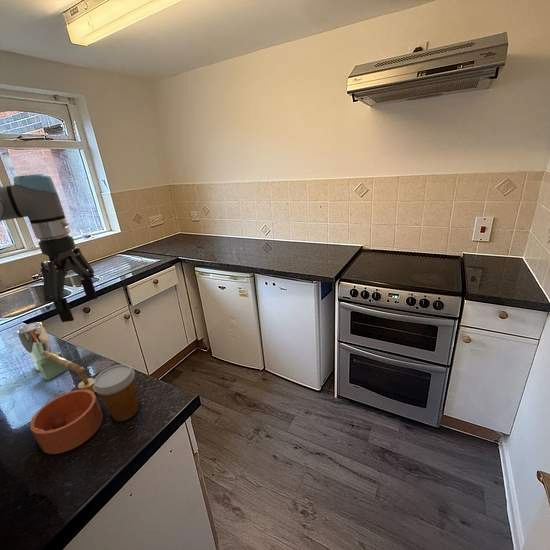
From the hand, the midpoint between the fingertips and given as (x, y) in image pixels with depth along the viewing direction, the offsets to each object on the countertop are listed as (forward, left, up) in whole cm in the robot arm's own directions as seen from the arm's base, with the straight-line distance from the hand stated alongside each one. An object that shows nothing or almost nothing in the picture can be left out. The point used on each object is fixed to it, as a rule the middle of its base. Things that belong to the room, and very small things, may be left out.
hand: (81, 309), depth 85 cm
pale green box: (-18, +6, -24) cm, 30 cm away
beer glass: (-24, +12, -24) cm, 36 cm away
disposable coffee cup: (+12, -17, -24) cm, 32 cm away
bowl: (0, -20, -24) cm, 31 cm away
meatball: (-3, -20, -22) cm, 30 cm away
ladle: (-10, 0, -24) cm, 26 cm away
